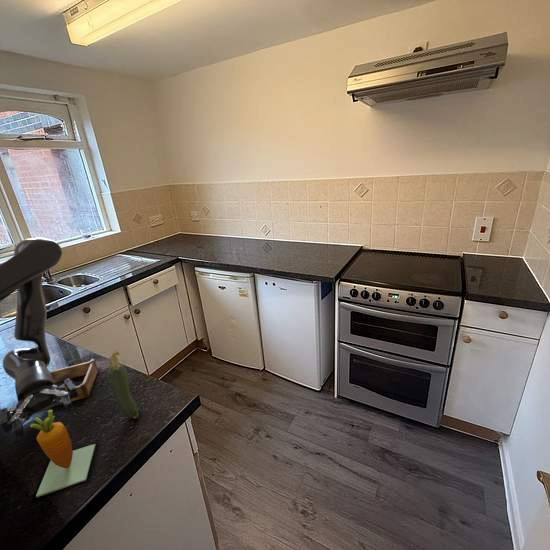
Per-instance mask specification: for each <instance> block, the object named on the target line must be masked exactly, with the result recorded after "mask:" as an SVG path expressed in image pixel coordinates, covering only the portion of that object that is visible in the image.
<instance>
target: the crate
mask: <svg viewBox="0 0 550 550" xmlns="http://www.w3.org/2000/svg"><path fill="white" fill-rule="evenodd" d="M48 371H49V372H50V374H51V376H52V378H53V380H54V383H55V384H57V383H59V382H62V381H63V382H64V381H65V380H66V379H70V380H71V379H74V378H79V377H82V376H84V378H83V380H82V383H80V384H79V385H76V386H75V385H74V386H75V388H76V391H77V393H78V395H79V396H78V397H76V398H72V399H71V402H74V401H77V400H82V399H86V398H89V397H90V395H91V391H92V388H93V386H94V383H95V380H96V377H97V374H98V372H99V368H98V365H97V363H96V360H95V358H92V359H90V360H89V361H86V362H85V361H84V362H81V363H77V364H74V365H70V366H65V367H62V368H58V369H53V370H49V369H48ZM60 392H66V391H64V390H62V391H60ZM68 392H69V391H68ZM60 405H64V404H63V403H61V404H60ZM52 407H57V405H52V404H51V405H50V406H48V407H46V408H43V409H42V410H45V409H49V408H52Z"/></svg>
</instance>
